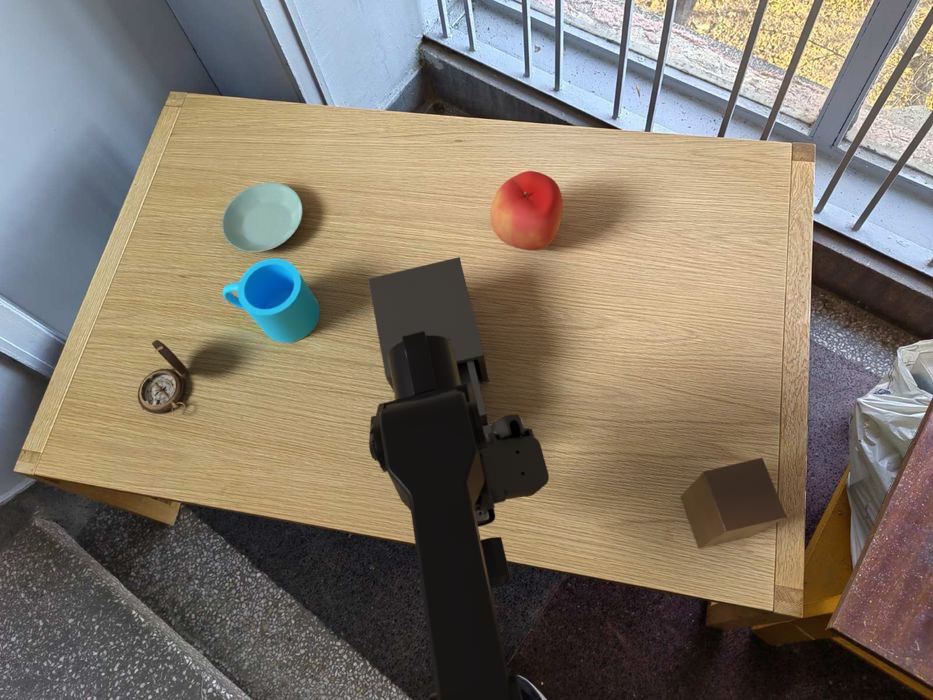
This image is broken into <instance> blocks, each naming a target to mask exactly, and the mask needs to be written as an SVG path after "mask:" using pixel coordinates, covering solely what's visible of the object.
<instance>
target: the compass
mask: <svg viewBox="0 0 933 700" xmlns="http://www.w3.org/2000/svg"><path fill="white" fill-rule="evenodd" d="M151 345H152V346H153V348H154V349H155V350H154V353H156V352H158V353H159V354H160V355H161V357H162V358H164V360H166V362H167V363H168V364H169V365H170V366H171V367H172V368H173V369H171V368H160V369H156V370H154V371H152V372H150V373H149V374H148V375H147V376H145V378H143V380H142V381H141V382H140V384H139V387H138V390H137V401H138V404H139V405H140V407H141V409H142V410H145V411H147V412H148V413H151V414H153V415H154V414H156V415H160V414H165V413H167V412H170V411H171V413H172V415H173V416H174V417H180V416H182V415H183V414H184V413H185V412H186V409H187V408H186V404H185V403H184V402H183V401H182V400H183V398H184V395H185V392H186V383H185V380H187V379H188V378H190V377H191V372H190V371H189V368H187V366H186V365H185V364H184V363H183V362H182V361H181V359H180V358H179V357H177V355H176V354H175V353H174V352H173V351H172V350H171V349H170V348H169V347H168V346H167V345H165V344H164V343H163V342H162V341H160V340H159V339H155V340H154V341H152V342H151ZM179 404H181V405H183V408H184V409H183V411H182V412H181V413H179V414H176V413H174V409H175V410H176V409H178V408H179Z"/></svg>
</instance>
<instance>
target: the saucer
mask: <svg viewBox="0 0 933 700" xmlns="http://www.w3.org/2000/svg"><path fill="white" fill-rule="evenodd" d="M299 196H300V195H298V194H297V192H296V191H294V189H292V188H291V187H289V186H287V185H285V184H282V183H278V182H262V183H258V184H254V185H252V186H249V187H247V188H245V189H244V190H242V191H241V192H239V193H238V194H237V195H235V196H234V197H233V199H232V200H231V201H230V202H229V203H228V205H227V206H226V207H225V210H224V213H223V215H222V222H221V228H222V233H223V235H224V238H225V239H226V241H227V242H228V243H229V244H230V245H231V246H232V247H234V248H236V249H238V250H239V251H243V252H250V253H261V252H265V251H270V250H273V249H274V248H277V247H279V246H281V245H282V244H285V242H286V241H288V240H289V239H290V238H291V237H292V236H293V235H294V233H295V232H296V231H297V229H298V227H299V226H300V224H301V221H302V218H303V204H302V201H301V198H300V197H299Z"/></svg>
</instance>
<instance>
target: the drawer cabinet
mask: <svg viewBox="0 0 933 700" xmlns="http://www.w3.org/2000/svg"><path fill="white" fill-rule="evenodd" d="M367 280H368V286H369V291H370V299H371V301H372V302H371V303H372V309H373V313H374V319H375V325H376V331H377V336H378V342H379V346H380V353H381V359H382V364H383V370H384V375H385V376H384V377H385V379H386V381H387V382H388V384H389V386H390V388H391V390H392V391H393V393H394V389H393V383H392V378H391V372H390V367H389V362H388V356H387V354H388V352H389V351H390V350H391V348H393V347H394V346H395V345H397V344H399V343H400V342H402V341H403V340H402V336H403V335H407V334H411V333H416V332H420V331H425V334H426V336H427V335H436V336H442V337H445V338H447V339H451V342H452V345H453V350H454V354H455V359H456V363H457V364H459V363H463V362H467V361H471V360H474V364H475V368H476V373H477V377H478V381H479V385H480V384H484V383H485V384H486V383H488V382H489V377H488V376H489V375H488V369H487V365H486V358H485V353H484V350H483V346H482V342H481V338H480V334H479V329H478V325H477V321H476V318H475V314H474V309H473V305H472V302H471V299H470V293H469V289H468V285H467V281H466V278H465V273H464V269H463V265H462V261H461V258H460V256H458V257H454V258H450V259H445V260H441V261H438V262H437V261H436V262H433V263H432V262H431V263H429V264H425V265H420V266H416V267H411V268H407V269H403V270H399V271H395V272H391V273H387V274H381V275H377V276H374V277H370V278H368V279H367Z"/></svg>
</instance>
